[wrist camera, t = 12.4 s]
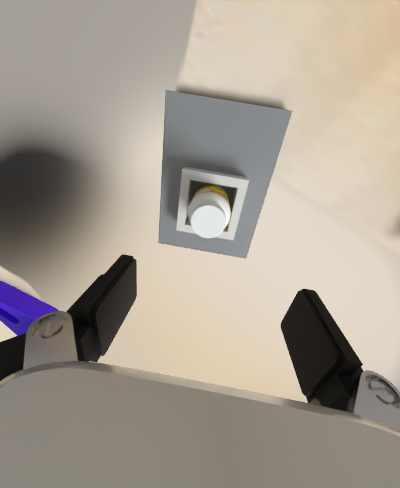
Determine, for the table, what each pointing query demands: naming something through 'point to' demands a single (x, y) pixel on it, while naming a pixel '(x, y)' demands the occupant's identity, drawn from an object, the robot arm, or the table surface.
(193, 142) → the socket holder
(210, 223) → the supplement bottle
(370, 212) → the table surface
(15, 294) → the bracket
